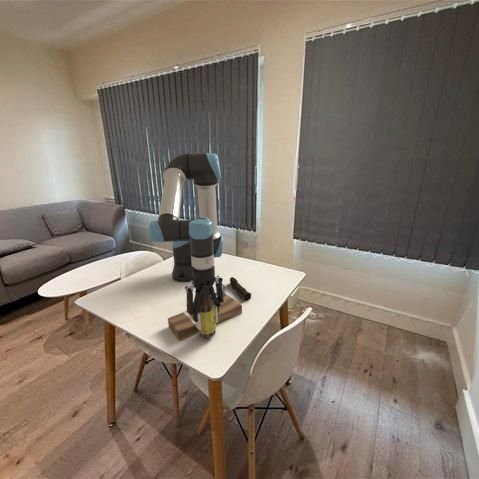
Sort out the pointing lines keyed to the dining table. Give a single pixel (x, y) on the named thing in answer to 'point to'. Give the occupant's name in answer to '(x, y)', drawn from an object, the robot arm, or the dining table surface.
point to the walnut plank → (186, 325)
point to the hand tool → (240, 289)
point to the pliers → (223, 291)
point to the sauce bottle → (207, 315)
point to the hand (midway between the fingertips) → (207, 324)
